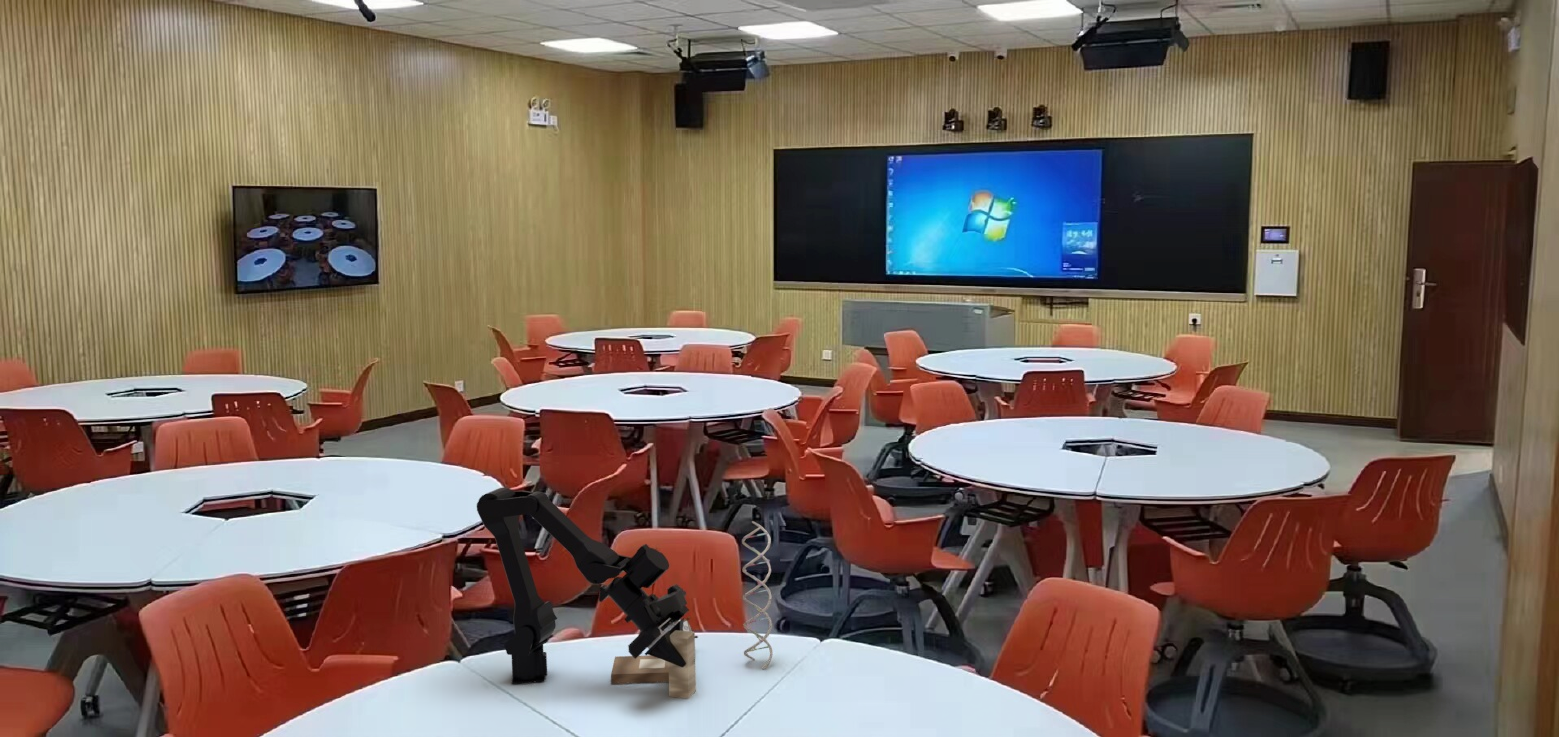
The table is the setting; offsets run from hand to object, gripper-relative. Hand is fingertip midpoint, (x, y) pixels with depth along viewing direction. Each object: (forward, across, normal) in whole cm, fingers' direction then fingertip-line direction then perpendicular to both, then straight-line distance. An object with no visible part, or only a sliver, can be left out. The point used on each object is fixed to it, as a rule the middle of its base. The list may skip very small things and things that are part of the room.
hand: (688, 661), depth 227 cm
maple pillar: (+4, 0, +6) cm, 7 cm away
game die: (-3, +20, +12) cm, 24 cm away
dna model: (+11, +18, -1) cm, 21 cm away
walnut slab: (-3, +8, +13) cm, 15 cm away
